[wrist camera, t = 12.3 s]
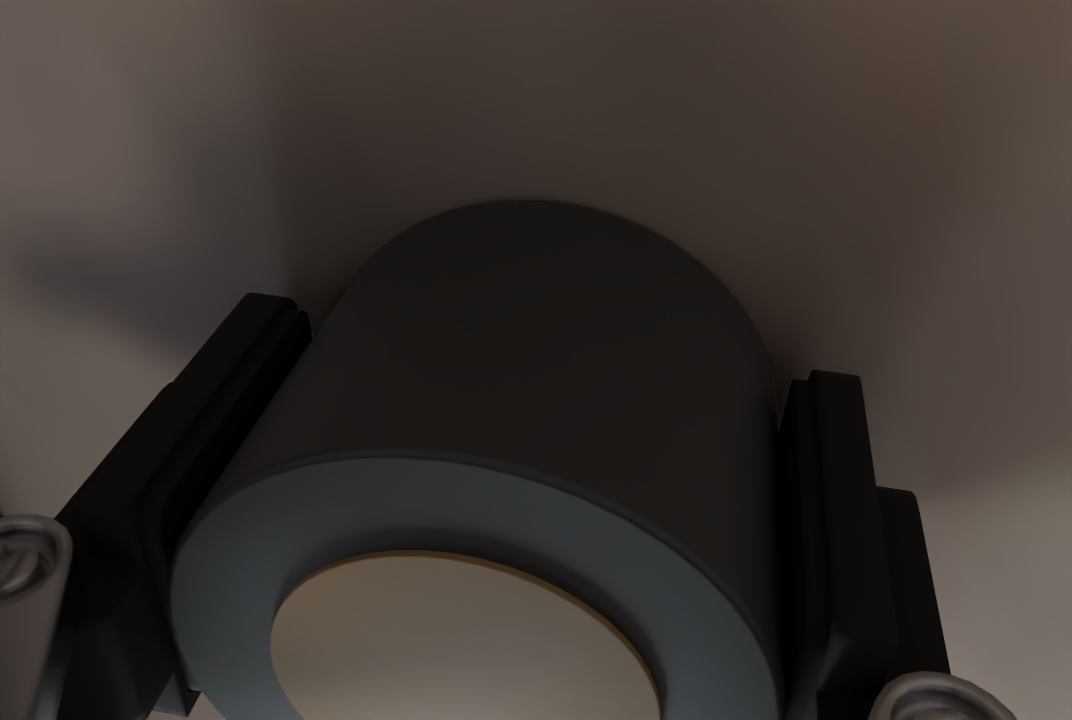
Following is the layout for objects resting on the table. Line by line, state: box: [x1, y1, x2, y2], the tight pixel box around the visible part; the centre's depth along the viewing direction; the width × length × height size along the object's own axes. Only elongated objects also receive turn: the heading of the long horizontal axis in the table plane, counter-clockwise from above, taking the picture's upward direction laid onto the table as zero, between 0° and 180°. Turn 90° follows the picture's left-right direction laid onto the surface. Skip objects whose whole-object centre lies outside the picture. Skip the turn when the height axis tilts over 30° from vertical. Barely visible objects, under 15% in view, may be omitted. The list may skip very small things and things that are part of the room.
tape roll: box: [167, 201, 786, 720], centre depth 11 cm, size 6×6×5 cm
